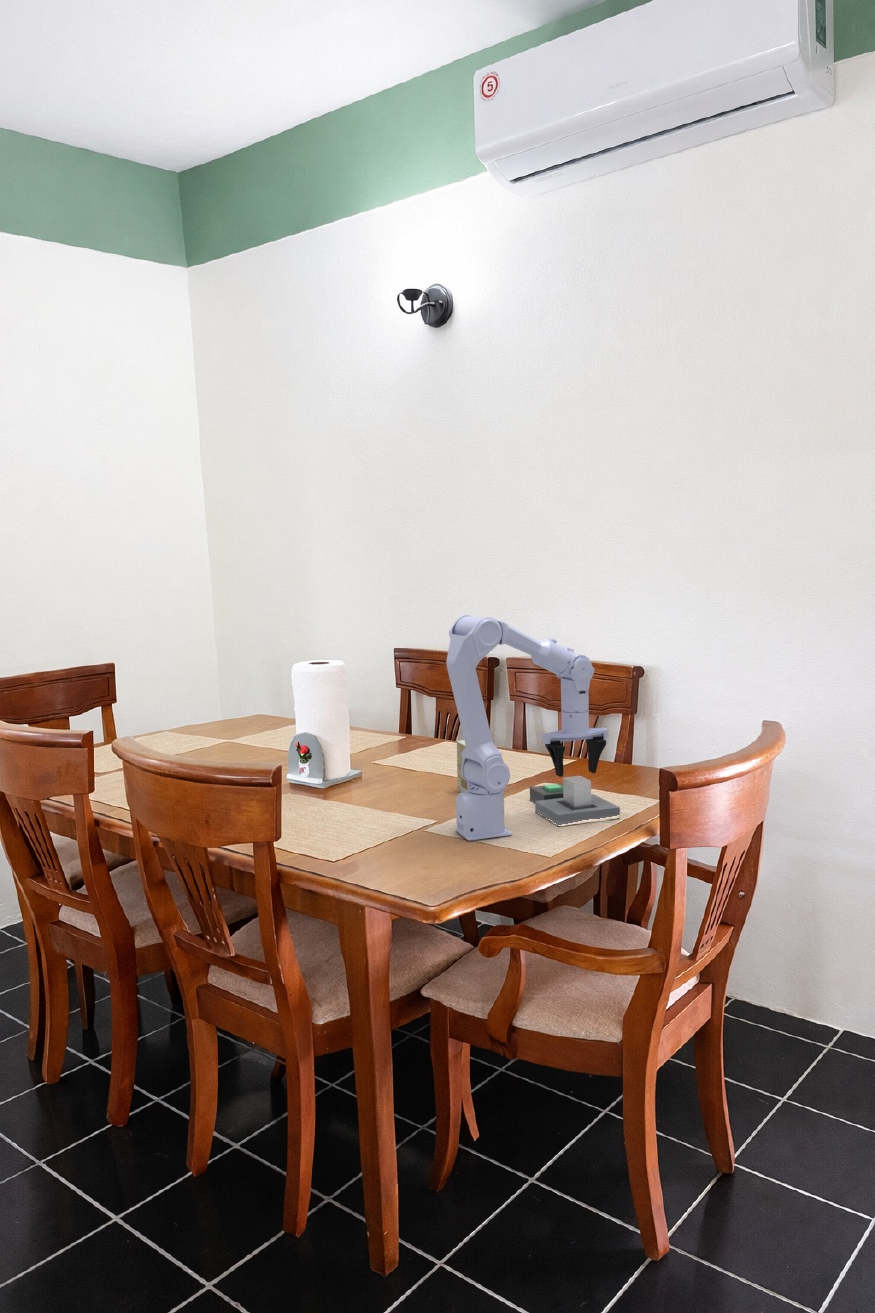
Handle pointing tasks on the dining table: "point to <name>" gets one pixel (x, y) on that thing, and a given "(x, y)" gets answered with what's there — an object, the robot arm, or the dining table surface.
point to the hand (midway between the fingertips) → (576, 774)
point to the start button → (553, 788)
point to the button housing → (544, 794)
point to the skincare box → (461, 782)
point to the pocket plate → (564, 815)
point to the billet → (577, 792)
